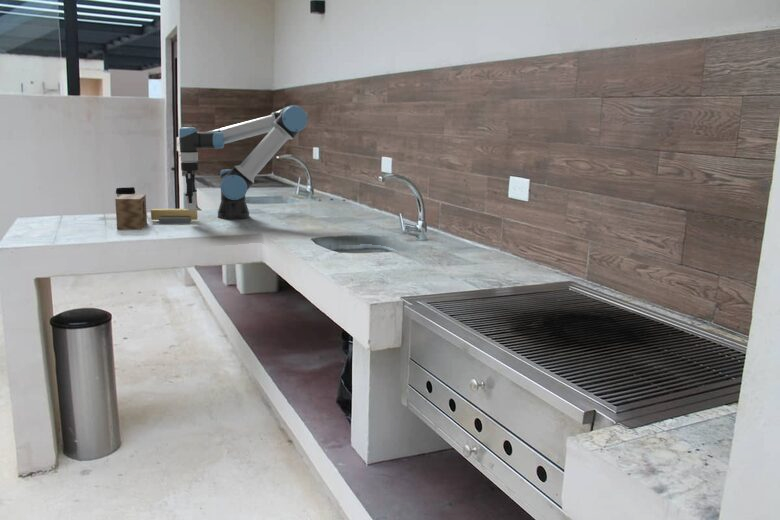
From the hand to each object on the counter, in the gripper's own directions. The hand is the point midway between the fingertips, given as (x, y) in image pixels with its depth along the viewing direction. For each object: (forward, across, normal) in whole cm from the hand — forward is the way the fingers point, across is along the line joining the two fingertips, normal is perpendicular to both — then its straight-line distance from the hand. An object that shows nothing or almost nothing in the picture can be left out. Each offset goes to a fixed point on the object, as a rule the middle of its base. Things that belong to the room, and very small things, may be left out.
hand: (192, 208), depth 301 cm
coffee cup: (+6, -6, -30) cm, 31 cm away
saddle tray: (+6, 0, -8) cm, 10 cm away
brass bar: (+5, 0, -8) cm, 9 cm away
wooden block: (+6, +12, -25) cm, 28 cm away
